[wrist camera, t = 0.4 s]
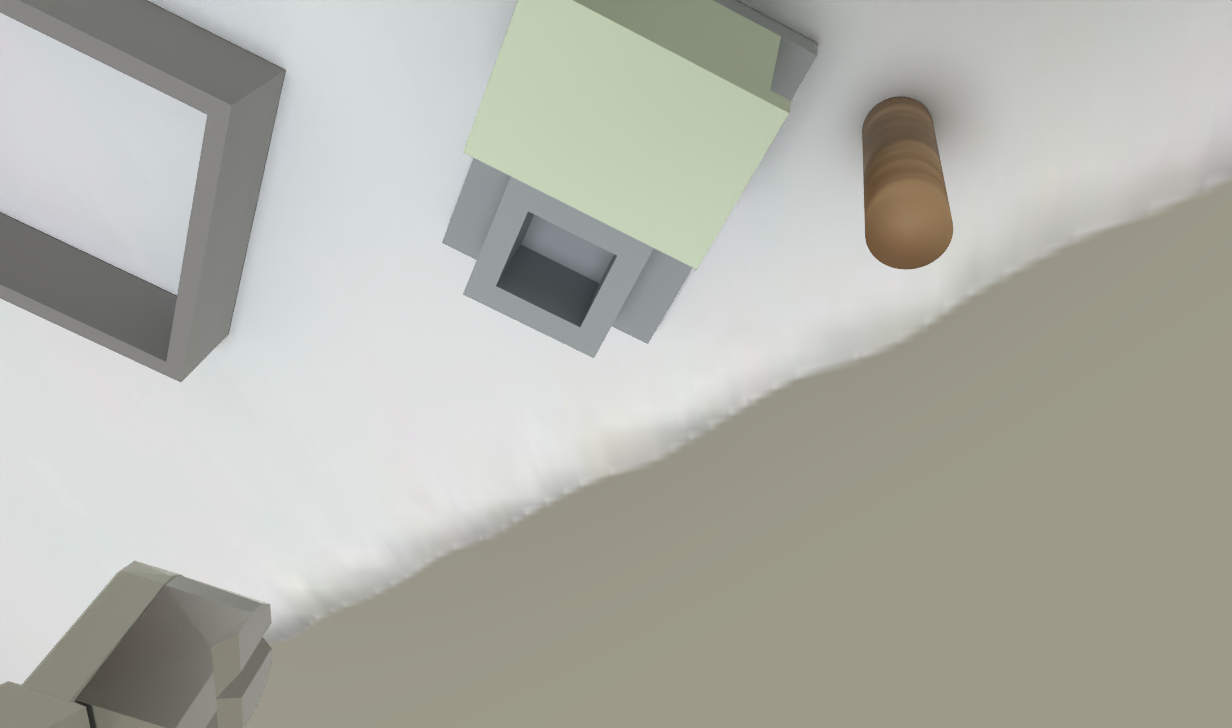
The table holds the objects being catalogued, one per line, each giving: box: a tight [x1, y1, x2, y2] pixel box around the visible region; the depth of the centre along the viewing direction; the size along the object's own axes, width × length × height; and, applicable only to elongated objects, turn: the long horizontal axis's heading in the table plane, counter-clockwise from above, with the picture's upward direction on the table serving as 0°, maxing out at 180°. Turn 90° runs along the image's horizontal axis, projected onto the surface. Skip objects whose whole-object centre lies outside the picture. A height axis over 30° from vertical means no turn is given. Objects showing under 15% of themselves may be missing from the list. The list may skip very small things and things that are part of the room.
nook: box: [442, 0, 818, 358], centre depth 49 cm, size 20×14×12 cm
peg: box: [862, 97, 953, 269], centre depth 45 cm, size 4×4×12 cm
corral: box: [0, 0, 286, 382], centre depth 58 cm, size 21×25×6 cm
